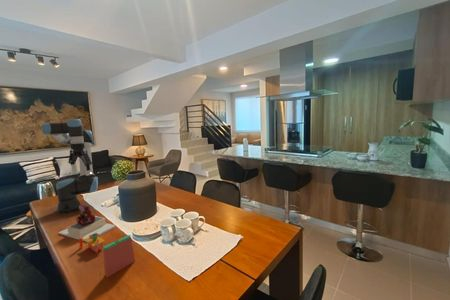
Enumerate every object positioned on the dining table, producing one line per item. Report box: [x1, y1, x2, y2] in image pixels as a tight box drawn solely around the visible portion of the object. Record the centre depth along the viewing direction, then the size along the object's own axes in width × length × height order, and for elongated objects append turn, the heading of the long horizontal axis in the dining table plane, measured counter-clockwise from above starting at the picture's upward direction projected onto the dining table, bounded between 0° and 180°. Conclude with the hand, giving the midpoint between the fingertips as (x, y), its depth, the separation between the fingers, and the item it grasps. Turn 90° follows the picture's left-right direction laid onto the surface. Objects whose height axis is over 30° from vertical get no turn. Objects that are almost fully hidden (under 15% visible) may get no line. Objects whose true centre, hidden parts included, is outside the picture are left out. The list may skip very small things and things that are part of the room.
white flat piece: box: [58, 215, 117, 243], centre depth 129 cm, size 18×26×5 cm
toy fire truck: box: [75, 203, 96, 225], centre depth 128 cm, size 7×12×10 cm, turn 57°
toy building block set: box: [78, 233, 136, 278], centre depth 103 cm, size 12×35×14 cm, turn 53°
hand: (81, 174), depth 141 cm, fingers open, 13 cm apart
